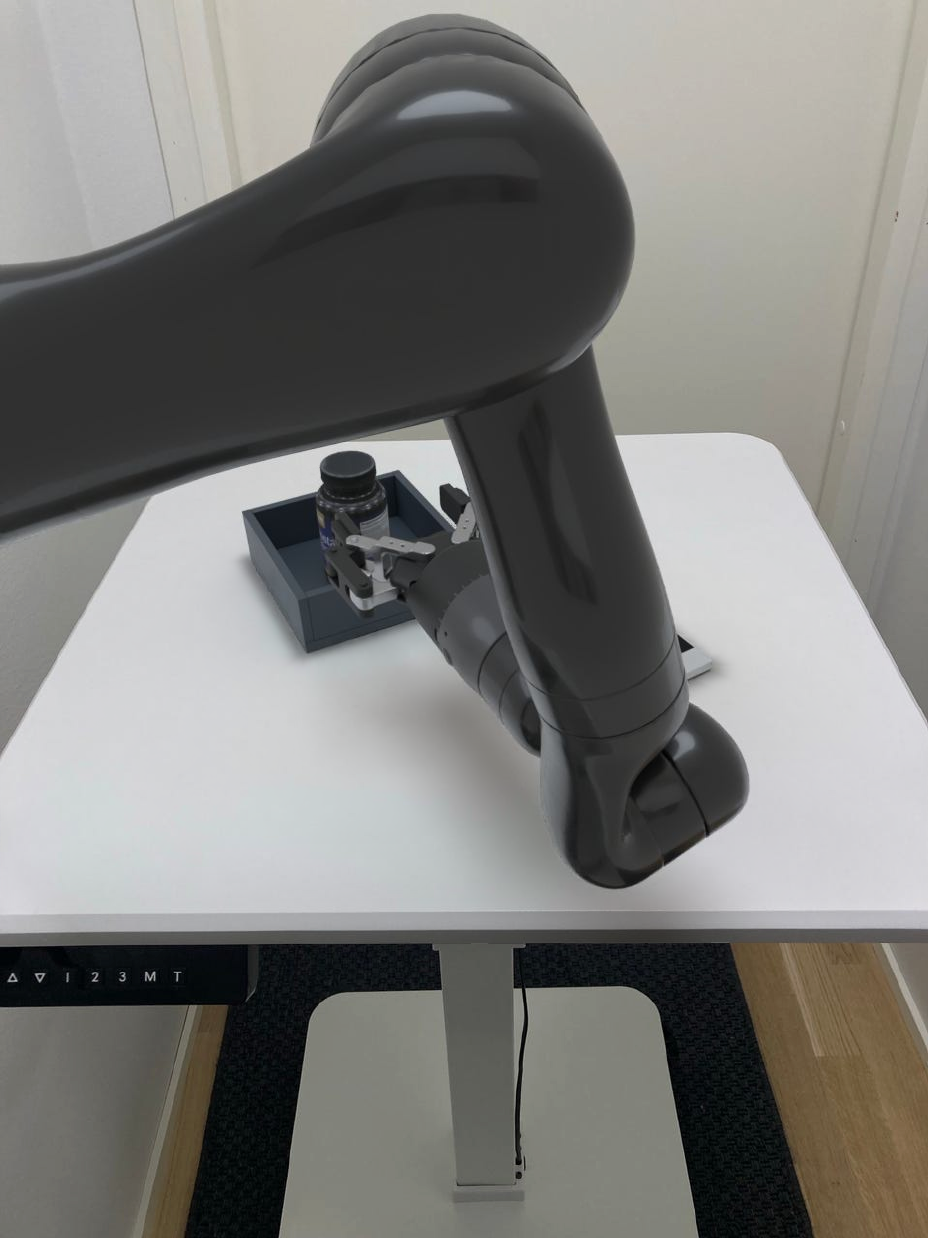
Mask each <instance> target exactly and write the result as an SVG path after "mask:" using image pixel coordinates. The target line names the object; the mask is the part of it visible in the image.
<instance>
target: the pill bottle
mask: <svg viewBox="0 0 928 1238" xmlns="http://www.w3.org/2000/svg"><path fill="white" fill-rule="evenodd" d="M319 472H320V481H321V482H322V484H321V485H320V486H319V487H318V489H317V491H316V492H317V494H316V498H315V499H316V508H317V516H318V524H319V531H320V540H321V547H322V555H323V563H324V571H325V574H326V576H327V578H328V566H327V559H326V556H325V549H326V548H328V547H330V546H336V545H335V544H334V542H333V538H332V530H331V521H334V520H335V514H336V513H339V512H343V511H345V512H346V514H347V515H348V516H349V517H350V519H351V520H352V521H353V522H354V524H355V525H356V526H357V527H358V529H359V530H360V531H361V532H362V536H364V537H368V538H372V539H376V540H379V539H380V538H381V537H382V536H388V537H390V533H389V520H388V508H387V496H386V490H385V488H384V487H383V485H382V484H381V483H380V482H379V481H378V480H376V479H375V476H377V464H376V460H375V458H374V457H373V455H371V454H369V453H367V452H365V451H360V450H342V451H337V452H333V453H330V454H328V455H327V456H325V457H324V458H323V459H322V460H320V464H319ZM365 558H366V560H370V561H373V557H372V555H370V554H368V553H365ZM391 561H392V559H391Z"/></svg>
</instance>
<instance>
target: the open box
mask: <svg viewBox="0 0 928 1238" xmlns="http://www.w3.org/2000/svg"><path fill="white" fill-rule="evenodd" d="M375 479H376V480H378V481H379V482H380V483H381V484H382V485H383V487H384V488H385V490H386V496H387V508H388V520H389V533H390V537H392V538H396V539H400V540H404V541H409V540H412V539H416V538H423V537H428V536H430V535H432V534H434V533H437V532H440V531H444V530H446V531H447V532H454V531H455V530H456V528H455V527H453V525H452V524H451V523H450V522H449V521H448V520H447V518H445V517H444V516H443V515H442V513H440V511H438V509H436V507H435V506H434V505H433V504H432V503H431V502H430V501H429V500H428V499H427V497H425V496H424V495H423V494H422V493H421V491H420V490H419V489H418V488H417V487H416V486H415V485H414V484H413V483H412V482H411V481H410V480H409V479H408V478H407V477H406V476H405V475H404V474H403V472H401V471H400V469H397V470H391V471H390V472H385V473H381V474H378V475H376V476H375ZM316 494H317V491H313V492H310V493H306V494H302V495H298V496H294V497H291V498H286V499H283V500H279V501H276V502H271V503H268V504H264V505H260V506H256V507H253V508H249V509H245V510H242V511H241V515H242V521H243V525H244V530H245V536H246V539H247V545H248V551H249V556H250V561H251V563H252V565H253V566H254V568H255V569H256V571H257V573H258V575H259V577H261V580H262V581H263V583H264V585H265V586H266V588H267V589H268V591H269V593H270V595H271V596H272V598H273V599H274V601H275V603H276V605H277V606H278V608H279V610H280V612H281V613H282V614H283V616H284V618H285V619H286V621H287V624H289V626H290V629H292V631H293V633H294V634H295V636H296V638H297V639H298V641H299V643H300V645H301V646H302V648H303V650H304V652H305V653H306V654H309V653H311V652H314V651H317V650H321V649H324V648H328V647H330V646H333V645H336V644H339V643H342V642H345V641H348V640H349V641H350V640H352V639H355V638H358V637H361V636H364V635H367V634H371V633H373V632H377V631H380V630H382V629H386V628H389V627H392V626H395V625H398V624H401V623H405V622H408V621H411V620H413V619H416V618H415V616H414V615H413V613H412V611H411V609H410V608H409V607H408V606H406V605H404V604H402V603H399V602H397V601H396V600H395V599H394V600H391V601H388V602H385V603H382V604H379V605H377V606H375V612H376V614H375V616H374V617H372V618H369V619H362V618H360V617H359V616H358V615H357V614H356V613H355V612H354V610H353V609H352V608H351V607H350V606H349V605H348V603H347V602H346V601H345V600H344V599H343V597H342V596H341V595H340V594H339V593H338V591H337V590H336V589H335V588H334V587H333V585H332V584H331V583H330V582H329V579H328V578H327V576H326V574H325V571H324V563H323V555H322V547H321V540H320V531H319V524H318V516H317V508H316V499H315V498H316ZM391 559H392V568H393V566H394V564H395V561H396V559H397V556H396V555H392V554H391ZM372 578H373V577H372Z"/></svg>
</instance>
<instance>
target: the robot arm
mask: <svg viewBox="0 0 928 1238" xmlns="http://www.w3.org/2000/svg"><path fill="white" fill-rule="evenodd" d="M633 210H634V209H633V206H632V201H631V197H630V194H629V191H628V186H627V183H626V181H625V179H624V176H623V174H622V171H621V169H620V167H619V164H618V162H617V160H616V159H615V156H614V155H613V153H612V151H611V150H610V148H609V146H608V144H607V143H606V141H605V140H604V137H603V135H602V133H601V132H600V130H599V128H598V127H597V126H596V124H595V122H594V120H593V118H592V117H591V116H590V114H589V112H588V111H587V110H586V107H585V106H584V105H583V104H582V102H581V100H580V98H579V96H578V94H577V93H576V92H575V91H574V89H573V87H572V85H571V84H570V82H569V81H568V80H567V79H566V77H565V76H564V75H563V73H561V72H560V71H559V69H558V68H557V67H556V66H555V65H554V63H553V62H552V61H551V60H550V59H549V58H548V56H547V55H546V54H544V53H542V51H540V50H538V49H537V48H536V47H535V46H533V44H531V43H530V42H528V41H527V40H525V39H524V38H523V37H522V36H520V35H519V34H517V33H515V32H513V31H512V30H509V29H507V28H505V27H503V26H500V25H498V24H496V23H494V22H492V21H490V20H488V19H485V18H481V17H476V16H471V15H467V14H462V13H428V14H424V15H420V16H416V17H413V18H408V19H404V20H402V21H399V22H397V23H395V24H393V25H390V26H388V27H387V28H385V29H383V30H381V31H380V32H379V33H377V34H375V35H374V36H373V37H372V38H371V39H370V40H368V41H367V42H366V43H365V44H364V45H363V46H362V47H360V48H359V49H358V50H357V51H356V52H354V54H353V55H352V56H351V57H350V58H349V60H348V62H347V63H346V64H345V66H344V67H343V68H342V70H341V71H340V72H339V73H338V75H337V76H336V78H335V79H334V81H333V82H332V85H331V87H330V89H329V90H328V93H327V94H326V97H325V99H324V101H323V104H322V106H321V107H320V110H319V112H318V114H317V117H316V122H315V125H314V128H313V132H312V136H311V140H310V144H309V147H308V148H307V149H305V150H304V151H302V152H300V153H299V154H297V155H295V156H294V157H291V159H289V160H287V161H285V162H283V163H282V164H280V165H278V166H277V167H275V168H273V169H272V170H270V171H267V172H265V173H263V174H262V175H260V176H258V177H256V178H254V179H253V180H251V181H249V182H247V183H245V184H243V185H241V186H240V187H238V188H236V189H234V190H232V191H230V192H227V193H226V194H223V195H222V196H219V197H218V198H216V199H213V200H212V201H209V202H207V203H205V204H203V205H201V206H199V207H197V208H194V209H193V210H190V211H189V212H186V213H184V214H182V215H179V216H178V217H176V218H174V219H171V220H170V221H167V222H165V223H163V224H161V225H159V226H157V227H155V228H152V229H151V230H148V231H146V232H143V233H140V234H138V235H136V236H133V237H131V238H128V239H126V240H125V239H124V240H123V241H120V242H117V243H115V244H112V245H110V246H106V247H103V248H100V249H95V250H92V251H89V252H86V253H82V254H78V255H73V256H67V257H62V258H56V259H49V260H44V261H43V260H42V261H31V262H29V261H28V262H17V263H2V264H0V550H3V549H5V548H8V547H10V546H12V545H15V544H18V543H20V542H23V541H26V540H28V539H31V538H33V537H36V536H39V535H42V534H45V533H48V532H51V531H54V530H57V529H60V528H63V527H67V526H69V525H72V524H75V523H79V522H81V521H84V520H86V519H90V518H94V517H97V516H99V515H102V514H106V513H108V512H111V511H114V510H117V509H120V508H123V507H126V506H129V505H131V504H132V505H133V504H134V503H137V502H140V501H143V500H146V499H149V498H151V497H154V496H156V495H159V494H161V493H162V494H163V493H165V492H166V491H169V490H172V489H175V488H177V487H181V486H183V485H186V484H189V483H192V482H195V481H198V480H200V479H203V478H206V477H209V476H213V475H217V474H220V473H223V472H227V471H230V470H234V469H238V468H240V467H245V466H248V465H249V466H250V465H254V464H257V463H261V462H265V461H269V460H273V459H277V458H281V457H285V456H289V455H294V454H298V453H302V452H308V451H312V450H316V449H320V448H324V447H328V446H333V445H337V444H342V443H345V442H350V441H355V440H359V439H364V438H368V437H373V436H376V435H380V434H385V433H389V432H394V431H398V430H402V429H407V428H411V427H415V426H419V425H424V424H429V423H431V422H436V421H439V420H442V421H443V423H444V426H445V430H446V432H447V433H448V436H449V439H450V442H451V445H452V448H453V451H454V453H455V457H456V459H457V462H458V465H459V468H460V470H461V471H460V472H461V474H462V477H463V481H464V485H465V487H466V490H467V493H466V492H465V491H464V490H463V489H461V488H459V487H454V486H453V485H451V483H449V482H448V483H447V482H446V483H443V484H440V485H439V487H438V489H439V490H438V491H439V506H440V508H441V511H442V512H443V513H444V514H445V515H446V516H447V517H448V518H449V519H450V520H451V521H452V522H453V523H454V524H455V525H456V527H455V531H454V532H447V531H446V530H444V531H440V532H437V533H434V534H432V535H430V536H428V537H423V538H416V539H412V540H409V541H404V540H400V539H396V538H392V537H388V536H382V537H381V538H380V539H379V540H376V539H372V538H368V537H364V536H362V532H361V531H360V530H359V529H358V527H357V526H356V525H355V524H354V522H353V521H352V520H351V519H350V517H349V516H348V515H347V514H346V512H345V511H343V512H339V513H336V514H335V520H334V521H331V530H332V538H333V542H334V544H335V545H336V546H330V547H328V548H326V549H325V556H326V559H327V566H328V579H329V582H330V583H331V584H332V585H333V587H334V588H335V589H336V590H337V591H338V593H339V594H340V595H341V596H342V597H343V599H344V600H345V601H346V602H347V603H348V605H349V606H350V607H351V608H352V609H353V610H354V612H355V613H356V614H357V615H358V616H359V617H360V618H362V619H369V618H372V617H374V616H375V614H376V612H375V606H377V605H379V604H382V603H385V602H388V601H391V600H394V599H395V600H396V601H397V602H399V603H402V604H404V605H406V606H408V607H409V608H410V609H411V611H412V613H413V615H414V616H415V618H414V619H415V620H416V621H417V623H418V624H419V626H420V627H421V628H422V629H423V631H424V632H425V633H426V634H427V636H428V637H429V638H430V640H431V641H432V642H433V644H434V645H435V646H436V647H437V648H438V650H439V651H440V652H441V654H442V655H443V657H444V659H445V661H446V663H448V665H449V666H451V667H453V669H454V671H456V673H457V674H458V676H459V677H460V678H461V680H463V682H464V683H466V684H467V685H468V687H469V688H471V689H472V690H473V691H474V692H475V693H476V694H478V695H479V697H481V698H482V700H483V701H484V702H485V703H486V704H487V706H488V707H489V708H490V710H491V711H492V712H493V713H494V715H495V716H496V717H497V718H498V720H499V721H500V722H501V723H502V725H503V726H504V727H505V729H506V730H507V731H508V732H509V734H510V735H511V736H512V738H513V739H514V740H515V741H516V742H517V744H519V746H521V747H522V748H523V749H524V750H525V751H526V752H527V753H528V754H530V755H531V756H533V757H536V758H539V759H540V761H539V763H540V764H539V789H540V805H541V809H542V815H543V819H544V822H545V826H546V830H547V832H548V836H549V838H550V840H551V843H552V845H553V847H554V849H555V850H556V852H557V853H558V855H559V857H560V858H561V860H562V862H563V863H564V864H565V865H566V866H567V868H568V869H569V870H570V871H571V872H572V873H574V875H576V876H577V877H578V878H580V879H581V880H582V881H584V882H586V883H588V884H590V885H591V886H595V887H597V888H600V889H605V890H611V891H612V890H613V891H614V890H616V891H617V890H625V889H628V888H631V887H632V888H633V887H634V886H636V885H638V884H641V883H643V882H644V881H646V880H647V879H649V878H650V877H652V876H653V875H655V874H657V873H658V872H659V871H661V870H663V868H665V867H666V866H668V865H670V864H671V863H672V862H674V861H675V860H678V858H680V857H682V855H684V854H686V853H687V852H689V851H690V850H691V849H693V848H695V847H696V846H697V845H699V844H700V843H702V842H703V841H704V840H705V839H707V838H709V837H711V836H713V834H715V833H716V832H718V831H720V830H721V829H723V828H724V827H726V826H727V825H728V824H730V823H731V822H732V821H734V819H736V818H737V817H738V816H739V815H740V814H741V813H742V811H743V809H744V808H745V807H746V805H747V803H748V800H749V795H750V787H751V786H750V785H751V784H750V772H749V769H748V764H747V762H746V759H745V756H744V755H743V752H742V750H741V749H740V747H739V745H738V744H737V742H736V741H735V739H734V738H733V737H732V735H731V734H730V733H729V732H728V731H727V730H726V729H725V727H723V726H722V725H721V723H720V722H719V721H717V720H716V718H714V717H712V715H710V714H709V713H707V712H706V711H705V710H703V709H702V708H701V707H699V706H697V705H695V704H694V703H692V702H691V701H690V687H689V679H688V680H687V674H686V671H685V667H684V663H683V658H682V654H681V650H680V646H679V641H678V637H677V633H676V631H677V629H676V624H675V619H674V615H673V611H672V607H671V604H670V600H669V596H668V593H667V589H666V585H665V581H664V579H663V575H662V572H661V568H660V566H659V563H658V560H657V556H656V553H655V550H654V547H653V545H652V542H651V539H650V535H649V533H648V529H647V527H646V524H645V521H644V519H643V515H642V512H641V509H640V507H639V504H638V501H637V499H636V496H635V493H634V490H633V487H632V484H631V482H630V479H629V476H628V472H627V469H626V467H625V464H624V460H623V458H622V457H623V456H622V455H621V451H620V449H619V445H618V442H617V439H616V435H615V432H614V429H613V425H612V422H611V419H610V416H609V411H608V407H607V404H606V399H605V395H604V391H603V388H602V384H601V379H600V375H599V369H598V366H597V360H596V356H595V351H594V346H593V343H594V342H595V341H596V339H597V338H598V337H599V336H600V335H601V334H602V333H603V331H604V329H605V328H606V327H607V325H608V324H609V322H610V321H611V319H612V317H613V316H614V315H615V313H616V311H617V309H618V307H619V306H620V304H621V301H622V299H623V297H624V294H625V292H626V290H627V286H628V283H629V281H630V277H631V273H632V271H633V265H634V260H635V252H636V224H635V217H634V216H635V215H634V211H633ZM365 553H368V554H370V555H372V557H373V561H370V560H366V558H365ZM391 554H392V555H396V556H397V559H396V561H395V564H394V566H393V568H392V561H391ZM372 577H373V578H372Z"/></svg>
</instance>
